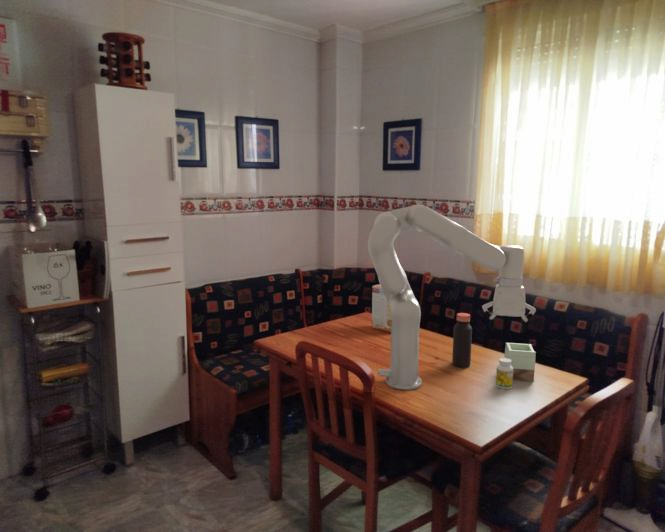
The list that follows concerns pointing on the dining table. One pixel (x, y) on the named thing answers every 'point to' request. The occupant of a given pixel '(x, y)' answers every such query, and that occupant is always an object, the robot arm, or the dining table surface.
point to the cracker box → (380, 310)
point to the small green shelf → (520, 355)
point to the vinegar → (462, 341)
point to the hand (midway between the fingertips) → (507, 330)
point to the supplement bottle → (504, 374)
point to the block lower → (523, 375)
